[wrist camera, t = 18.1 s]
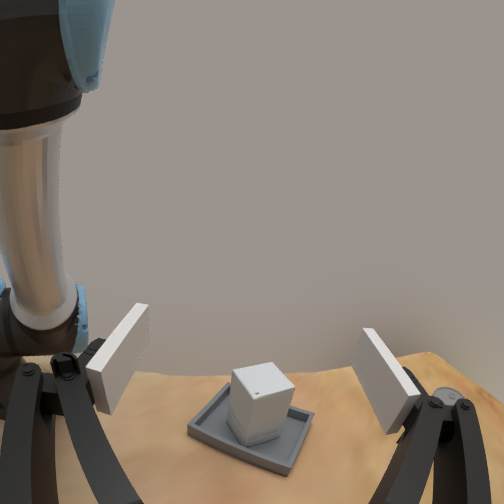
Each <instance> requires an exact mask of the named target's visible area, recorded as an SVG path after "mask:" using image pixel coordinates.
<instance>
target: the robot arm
mask: <svg viewBox="0 0 504 504" xmlns="http://www.w3.org/2000/svg"><path fill="white" fill-rule="evenodd" d="M114 2H115V0H0V250H1V254H2V257H3V261H4V264H5V267H6V270H7V273H8V276H9V279H10V282H11V285H12V288H6V284H5V282H4V280H3V278H2V277H0V419H5V425H4V431H3V437H2V445H1V454H0V504H59V502H58V493H57V483H56V469H55V415H62V416H64V417H65V421H66V424H67V427H68V430H69V434H70V437H71V440H72V442H73V445H74V448H75V451H76V454H77V456H78V459H79V461H80V464H81V466H82V469H83V471H84V474H85V476H86V478H87V481H88V483H89V485H90V487H91V489H92V491H93V494H94V496H95V498H96V500H97V502H98V504H144V503H143V502H142V500H141V499H140V497H139V496H138V494H137V493H136V491H135V489H134V488H133V486H132V485H131V483H130V481H129V479H128V478H127V476H126V474H125V472H124V471H123V469H122V467H121V465H120V463H119V462H118V460H117V458H116V456H115V454H114V452H113V450H112V448H111V446H110V444H109V442H108V440H107V438H106V435H105V433H104V431H103V429H102V427H101V424H100V422H99V420H98V417H97V415H96V413H95V410H94V408H93V405H94V403H95V405H96V409H97V411H99V412H102V413H105V414H108V415H112V413H113V411H114V409H115V407H116V405H117V404H118V402H119V400H120V398H121V396H122V394H123V392H124V390H125V388H126V386H127V384H128V382H129V381H130V379H131V377H132V375H133V373H134V371H135V369H136V368H137V366H138V364H139V362H140V360H141V358H142V357H143V355H144V353H145V351H146V349H147V347H148V346H149V344H150V338H149V305H145V304H140V303H136V304H135V306H134V307H133V308H132V309H131V311H130V312H129V313H128V314H127V315H126V316H125V318H124V319H123V320H122V321H121V323H120V324H119V325H118V326H117V327H116V329H115V330H114V331H113V332H112V334H111V335H110V336H109V337H108V339H107V340H105V339H101V338H98V339H96V340H94V341H93V342H91V343H90V344H89V345H88V326H87V325H88V316H87V302H86V294H85V290H84V288H83V287H82V286H81V285H77V284H74V281H73V279H72V278H71V277H70V275H69V274H68V273H67V272H65V271H64V266H63V265H64V264H63V256H62V246H61V234H60V218H59V159H60V143H61V131H62V125H63V123H64V122H65V121H66V120H67V119H69V118H70V117H71V116H72V115H73V114H74V113H76V112H77V111H78V109H79V107H80V103H81V97H82V93H88V92H89V91H92V90H95V89H97V87H98V85H99V82H100V77H101V71H102V64H103V58H104V53H105V48H106V41H107V36H108V31H109V26H110V21H111V16H112V12H113V7H114ZM87 346H88V347H87ZM81 352H83V353H82V354H81V355H80V356H79V357H78V358H77V357H76V356H75V355H74V353H81ZM46 355H54V356H53V357H52V358H51V361H50V364H51V367H52V370H53V374H50V373H42V371H41V368H40V367H39V365H37V364H35V363H27V362H26V361H25V360H24V358H23V357H22V356H46ZM351 365H352V367H353V369H354V371H355V373H356V375H357V377H358V379H359V381H360V383H361V385H362V387H363V389H364V391H365V393H366V395H367V397H368V399H369V401H370V403H371V406H372V408H373V410H374V412H375V414H376V416H377V418H378V420H379V422H380V424H381V426H382V428H383V431H384V433H385V435H386V434H392V433H398V431H399V430H400V428H401V426H402V425H403V426H404V428H405V431H404V432H403V434H402V435H401V437H400V438H399V440H398V441H397V442H396V443H397V444H398V446H397V448H396V450H395V453H394V455H393V457H392V459H391V461H390V464H389V466H388V468H387V470H386V472H385V474H384V476H383V478H382V480H381V482H380V484H379V486H378V487H377V489H376V491H375V493H374V495H373V497H372V498H371V500H370V502H369V503H368V504H419V502H420V499H421V497H422V494H423V491H424V488H425V486H426V483H427V480H428V476H429V473H430V470H431V467H432V463H433V460H434V481H433V501H432V504H491V491H490V482H489V473H488V466H487V460H486V454H485V449H484V444H483V439H482V434H481V430H480V425H479V421H478V417H477V414H476V410H475V406H474V404H473V403H472V402H471V401H470V400H468V399H465V398H460V399H458V400H457V401H456V403H455V404H454V405H445V404H444V402H443V401H442V400H441V399H440V398H438V397H435V396H429V395H428V394H427V392H426V391H425V390H424V388H423V387H422V385H421V384H420V383H418V382H419V381H418V380H417V379H416V378H415V376H414V375H413V373H412V372H411V371H410V370H409V369H407V368H406V367H401V365H400V364H399V363H398V361H397V360H396V359H395V357H394V356H393V355H392V354H391V352H390V351H389V349H388V348H387V346H386V345H385V344H384V342H383V341H382V340H381V339H380V338H379V336H378V335H377V333H376V332H375V331H374V329H373V328H362V331H361V334H360V337H359V340H358V343H357V346H356V349H355V352H354V355H353V358H352V360H351Z"/></svg>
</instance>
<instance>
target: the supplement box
mask: <svg viewBox="0 0 504 504" xmlns="http://www.w3.org/2000/svg"><path fill="white" fill-rule="evenodd" d="M294 390H295V386H294V385H293V384H292V383H291V382H290V381H289V380H288V379H287V378H286V376H285V375H284V374H283V373H282V372H281V371H280V370H279V369H278V368H277V367H276V366H275V365H274V363H273V362H269V363H264V364H259V365H254V366H250V367H245V368H239V369H233V371H232V379H231V387H230V395H229V404H228V411H227V419H226V421H227V423H228V424H229V426H230V428H231V429H232V431H233V433H234V434H235V436H236V438H237V439H238V441H239V442H240V444H241V446H243V447H249V446H252V445H256V444H259V443H263V442H266V441H269V440H272V439H275V438H278V437H280V435H281V432H282V429H283V426H284V422H285V419H286V416H287V413H288V410H289V406H290V403H291V400H292V397H293V393H294Z"/></svg>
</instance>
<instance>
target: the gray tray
mask: <svg viewBox="0 0 504 504" xmlns="http://www.w3.org/2000/svg"><path fill="white" fill-rule="evenodd" d="M230 387H231V384H230V383H227V384H226V385H225V386H224V387H223V388H222V389H221V390H220V391H219V392H218V393H217V394H216V395H215V397H214V398H213V399H212V400H211V401H210V402H209V403H208V404H207V405H206V406H205V407H204V408H203V409H202V410H201V411H200V412H199V413H198V414H197V415H196V416H195V417H194V418H193V419H192V420H191V421H190V422H189V423H188V424H187V425H188V435H190V436H192V437H193V438H195V439H197V440H199V441H201V442H203V443H205V444H207V445H209V446H211V447H213V448H215V449H218V450H220V451H222V452H224V453H226V454H229V455H231V456H233V457H235V458H238V459H240V460H242V461H245V462H247V463H250V464H252V465H255V466H258V467H260V468H263V469H266V470H268V471H271V472H274V473H277V474H280V475H283V476H286V477H287V475H288V473H289V471H290V469H291V467H292V465H293V463H294V461H295V458H296V456H297V454H298V452H299V450H300V447H301V445H302V443H303V440H304V438H305V436H306V433H307V431H308V429H309V426H310V424H311V421H312V419H313V416H314V414H315V413H312V412H309V411H305V410H302V409H299V408H296V407H293V406H289V410H288V413H287V416H286V419H285V422H284V426H283V429H282V432H281V435H280V437H278V438H275V439H272V440H269V441H266V442H263V443H259V444H256V445H252V446H249V447H243V446H241V444H240V442H239V441H238V439H237V438H236V436H235V434H234V433H233V431H232V429H231V428H230V426H229V424H228V423H227V421H226V419H227V411H228V404H229V395H230Z"/></svg>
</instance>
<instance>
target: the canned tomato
mask: <svg viewBox="0 0 504 504" xmlns="http://www.w3.org/2000/svg"><path fill="white" fill-rule="evenodd" d="M432 396H435V397H438V398H440V399H441V400H442V401H443V402H444V404H445V405H454V404H455V403H456V401H457V400H458V399H460V398H465V397H464V396H463V395H462V394H461V393H460V392H459V391H457V390H455V389H453V388H450V387H440V388H437V389H436V390H435V391H434V393H433V395H432Z"/></svg>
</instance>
